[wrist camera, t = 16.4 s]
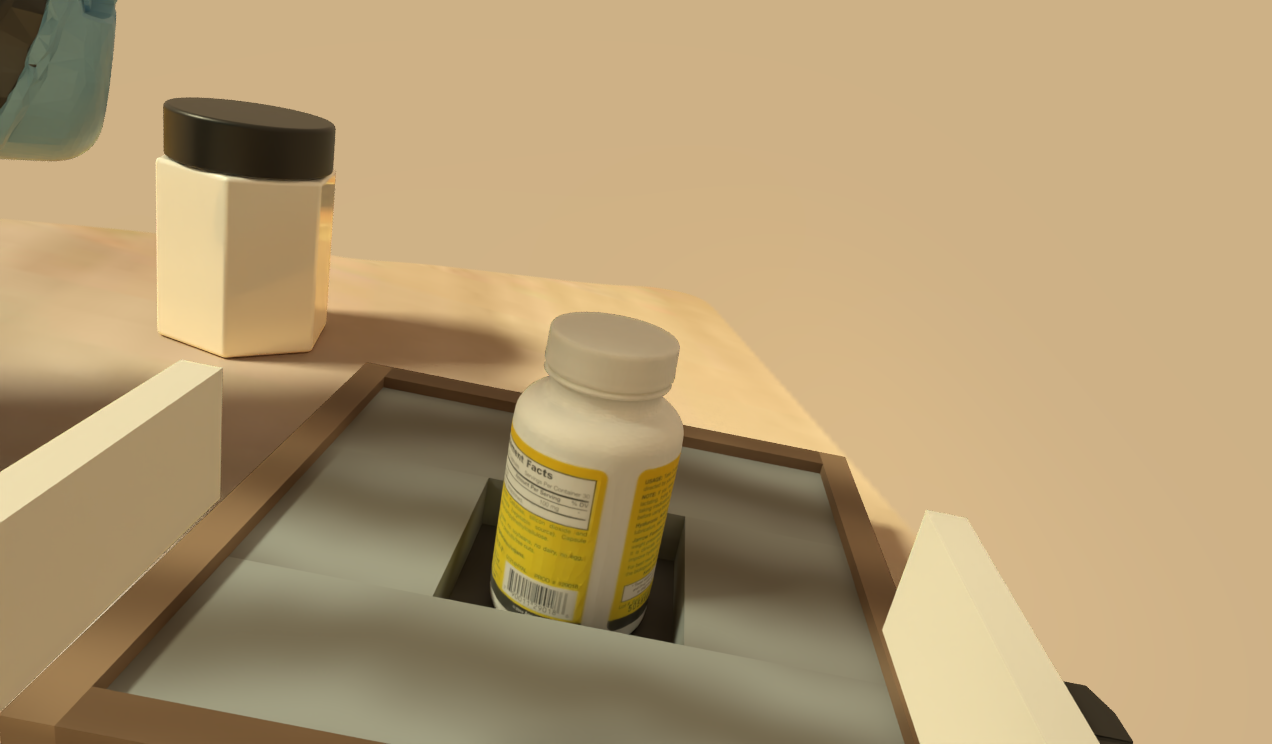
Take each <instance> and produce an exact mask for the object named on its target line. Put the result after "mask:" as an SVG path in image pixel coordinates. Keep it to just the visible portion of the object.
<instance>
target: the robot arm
mask: <svg viewBox="0 0 1272 744" xmlns="http://www.w3.org/2000/svg"><path fill="white" fill-rule="evenodd" d="M116 2H117V0H0V159H11V160H33V161H34V160H35V161H63V160H69V159H72V158H75V157H78V156H80V155H82V154H83V153H85V152H86V151H87V150H89V149H90V148H91V147H92V146H93V145H94V143H95V142H96V140H97V139H98V137H99V135H100V133H101V130H102V127H103V122H104V117H105V112H106V106H107V100H108V93H109V86H110V77H111V69H112V60H113V51H114V39H115V26H116V11H115V4H116ZM222 384H223V368H221V367H216V366H211V365H206V364H201V363H196V362H191V361H187V360H182V359H181V360H179V361H178V362H176V363H175V364H173V365H171V366H170V367H168V368H167V369H165V370H163V371H162V372H160V373H158V374H157V375H155V376H154V377H152V378H150V379H149V380H147V381H146V382H144V383H142V384H141V385H139V386H138V387H136V388H134V389H133V390H131V391H130V392H128V393H126V394H125V395H123V396H122V397H120V398H118V399H117V400H115V401H113V402H112V403H110V404H109V405H107V406H105V407H104V408H102V409H101V410H99V411H97V412H96V413H94V414H93V415H91V416H89V417H88V418H86V419H85V420H83V421H81V422H80V423H78V424H76V425H75V426H73V427H72V428H70V429H68V430H67V431H65V432H64V433H62V434H60V435H59V436H57V437H56V438H54V439H52V440H51V441H49V442H48V443H46V444H44V445H43V446H41V447H39V448H38V449H36V450H35V451H33V452H31V453H30V454H28V455H27V456H25V457H23V458H22V459H20V460H19V461H17V462H15V463H14V464H12V465H11V466H9V467H7V468H6V469H4V470H3V471H1V472H0V712H1V711H2V710H3V709H4V708H5V707H6V706H7V705H8V704H9V703H10V702H11V701H12V700H13V699H14V698H15V697H16V696H17V695H18V694H19V693H20V692H21V691H22V690H23V689H24V688H25V687H26V686H27V685H28V684H29V683H30V682H32V681H33V680H34V679H35V678H36V677H37V676H38V675H39V674H40V673H41V672H42V671H43V670H44V669H45V668H46V667H47V666H48V665H49V664H50V663H51V662H52V661H53V660H54V659H55V658H56V657H57V656H58V655H59V654H60V653H61V652H62V651H63V650H64V649H66V648H67V647H68V646H69V645H70V644H71V643H72V642H73V641H74V640H75V639H76V638H77V637H78V636H79V635H80V634H81V633H82V632H83V631H84V630H85V629H86V628H87V627H88V626H89V625H90V624H91V623H92V622H93V621H94V620H95V619H96V618H97V617H98V616H99V615H101V614H102V613H103V612H104V611H105V610H106V609H107V608H108V607H109V606H110V605H111V604H112V603H113V602H114V601H115V600H116V599H117V598H118V597H119V596H120V595H121V594H122V593H123V592H124V591H125V590H126V589H127V588H128V587H129V586H130V585H131V584H132V583H133V582H135V581H136V580H137V579H138V578H139V577H140V576H141V575H142V574H143V573H144V572H145V571H146V570H147V569H148V568H149V567H150V566H151V565H152V564H153V563H154V562H155V561H156V560H157V559H158V558H159V557H160V556H161V555H162V554H163V553H164V552H165V551H166V550H167V549H169V548H170V547H171V546H172V545H173V544H174V543H175V542H176V541H177V540H178V539H179V538H180V537H181V536H182V535H183V534H184V533H185V532H186V531H187V530H188V529H189V528H190V527H191V526H192V525H193V524H194V523H195V522H196V521H197V520H198V519H199V518H200V517H201V516H202V515H204V514H205V513H206V512H207V511H208V510H209V509H210V508H211V507H212V506H213V505H214V504H215V503H216V502H217V501H218V500H219V499H220V485H221V435H222ZM882 631H883V634H884V637H885V640H886V643H887V646H888V649H889V652H890V655H891V658H892V661H893V664H894V667H895V670H896V673H897V676H898V679H899V682H900V685H901V688H902V691H903V694H904V697H905V700H906V703H907V707H908V710H909V713H910V716H911V719H912V722H913V725H914V728H915V731H916V734H917V737H918V740H919V743H920V744H1133V741H1132V739H1131V738H1130V736H1129V735H1128V733H1127V731H1126V730H1125V728H1124V727H1123V725H1122V724H1121V722H1120V720H1119V719H1118V717H1117V716H1116V714H1115V713H1114V712H1113V711H1112V710H1111V709H1110V708H1109V707H1107V705H1106V704H1104V702H1102V701H1101V700H1100V699H1099V698H1098V697H1097V696H1096V695H1095V694H1094V693H1093V692H1092V691H1091V690H1090V689H1089V688H1088V687H1087V686H1084V685H1079V684H1074V683H1069V682H1064V681H1063V680H1062V679H1061V677H1060V675H1059V674H1058V672H1057V670H1056V669H1055V667H1054V666H1053V663H1052V662H1051V660H1050V658H1049V657H1048V655H1047V653H1046V652H1045V650H1044V648H1043V646H1042V645H1041V643H1040V641H1039V640H1038V638H1037V636H1036V635H1035V633H1034V631H1033V630H1032V628H1031V626H1030V624H1029V623H1028V621H1027V619H1026V618H1025V616H1024V614H1023V613H1022V611H1021V609H1020V608H1019V606H1018V604H1017V602H1016V601H1015V599H1014V597H1013V596H1012V594H1011V592H1010V590H1009V589H1008V587H1007V585H1006V584H1005V582H1004V580H1003V579H1002V577H1001V575H1000V573H999V572H998V570H997V568H996V567H995V565H994V563H993V562H992V561H991V558H990V557H989V555H988V553H987V552H986V550H985V548H984V547H983V545H982V543H981V541H980V540H979V538H978V536H977V534H976V533H975V531H974V529H973V528H972V526H971V524H970V523H969V521H968V519H967V518H964V517H959V516H955V515H949V514H944V513H940V512H935V511H930V510H926V512H925V515H924V518H923V520H922V523H921V526H920V528H919V531H918V534H917V537H916V539H915V542H914V545H913V547H912V550H911V553H910V556H909V558H908V561H907V564H906V566H905V569H904V572H903V575H902V577H901V580H900V583H899V586H898V588H897V591H896V594H895V596H894V599H893V602H892V605H891V607H890V610H889V613H888V615H887V618H886V621H885V624H884V626H883V629H882Z"/></svg>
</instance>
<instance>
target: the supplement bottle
mask: <svg viewBox="0 0 1272 744" xmlns="http://www.w3.org/2000/svg"><path fill="white" fill-rule="evenodd" d="M679 349H680V346H679V343H678V341H677V339H676V338H675V337H674V336H673V335H671V334H670V333H669V332H667V331H665V330H664V329H662V328H660V327H657V326H655V325H653V324H650V323H647V322H644V321H641V320H638V319H634V318H630V317H625V316H621V315H615V314H608V313H600V312H574V313H568V314H563V315H560V316H558V317H556V318H555V319H554V320H553V321H552V323H551V326H550V331H549V336H548V342H547V347H546V351H545V363H544V368H545V370H546V372H547V373H548V374H549V375H550V376H547V377H544V378H542V379H539V380H538V381H536V382H534V383H532V384H531V385H530V386H528V387H527V388H526V389H525V390H524V391H523V393H522V394H521V395H520V397H519V399H518V401H517V403H516V406H515V411H514V416H513V420H512V426H511V433H510V441H509V448H508V455H507V462H506V469H505V476H504V483H503V490H502V497H501V504H500V511H499V518H498V525H497V532H496V539H495V546H494V553H493V561H492V569H491V576H490V594H491V599H492V602H493V604H494V607H495V608H496V609H500V610H505V611H510V612H515V613H520V614H525V615H531V616H536V617H541V618H546V619H551V620H556V621H561V622H566V623H572V624H577V625H582V626H587V627H592V628H597V629H602V630H607V631H612V632H618V633H623V634H628V635H629V634H630V633H631V632H633V631H634V630H635V629H636V628H637V626H638V625H639V624H640V622H641V620H642V618H643V616H644V614H645V610H646V607H647V603H648V599H649V595H650V590H651V586H652V582H653V578H654V572H655V567H656V562H657V557H658V553H659V548H660V544H661V539H662V535H663V530H664V525H665V521H666V517H667V512H668V508H669V503H670V499H671V494H672V490H673V485H674V481H675V476H676V472H677V468H678V463H679V459H680V454H681V450H682V443H683V436H684V430H683V424H682V421H681V418H680V416H679V414H678V413H677V411H676V410H675V408H674V407H673V406H672V405H671V404H670V403H669V402H668V401H667V400H666V399H665V398H663V397H662V396H664V395H665V394H667V393H668V392H669V391H670V389H671V386H672V383H673V382H674V379H675V372H676V366H677V361H678V356H679Z"/></svg>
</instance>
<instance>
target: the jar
mask: <svg viewBox="0 0 1272 744" xmlns="http://www.w3.org/2000/svg"><path fill="white" fill-rule="evenodd" d="M163 113H164V115H163V118H164V119H163V120H164V154H165V155H163V156H161V157H158V158H157V159H156V244H157V330H158V332H159V334H161V335H163V336H166V337H169V338H172V339H174V340H177V341H180V342H183V343H185V344H188V345H191V346H194V347H196V348H199V349H202V350H205V351H207V352H210V353H213V354H215V355H218V356H221V357H224V358H229V357H244V356H257V355H271V354H285V353H299V352H308V351H311V350H312V348H313V346H314V345H315V343H316V341H317V339H318V337H319V335H320V334H321V332H322V330H323V328H324V326H325V324H326V319H327V303H328V287H329V272H330V256H331V239H332V225H333V209H334V193H335V192H334V191H335V178H336V171H335V170H334V169H333V161H334V144H335V130H336V129H335V126H334V124H332V123H331V122H329V121H328V120H326V119H323V118H320V117H318V116H314V115H311V114H308V113H304V112H299V111H295V110H291V109H286V108H281V107H275V106H270V105H264V104H258V103H250V102H242V101H235V100H225V99H213V98H174V99H170V100H167V101H166V102H165V103H164V106H163Z"/></svg>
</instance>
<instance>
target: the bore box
mask: <svg viewBox="0 0 1272 744" xmlns="http://www.w3.org/2000/svg"><path fill="white" fill-rule="evenodd" d="M521 394H522V393H519V392H514V391H509V390H504V389H499V388H494V387H489V386H484V385H479V384H474V383H469V382H464V381H459V380H454V379H449V378H444V377H439V376H434V375H429V374H424V373H419V372H414V371H408V370H403V369H398V368H393V367H388V366H383V365H378V364H373V363H368V362H367V363H366V364H365V365H364V366H363V367H361V368H360V369H359V370H358V371H357V372H356V373H355V374H354V375H353V376H352V377H351V378H350V379H349V380H348V381H347V382H346V383H345V384H344V385H343V386H342V387H341V388H339V389H338V390H337V391H336V392H335V393H334V394H333V395H332V396H331V397H330V398H329V399H328V400H327V401H326V402H325V403H324V404H323V405H322V406H321V407H320V408H319V409H318V410H316V411H315V412H314V413H313V414H312V415H311V416H310V417H309V418H308V419H307V420H306V421H305V422H304V423H303V424H302V425H301V426H300V427H299V428H298V429H297V430H296V431H294V432H293V433H292V434H291V435H290V436H289V437H288V438H287V439H286V440H285V441H284V442H283V443H282V444H281V445H280V446H279V447H278V448H277V449H276V450H275V451H274V452H273V453H271V454H270V455H269V456H268V457H267V458H266V459H265V460H264V461H263V462H262V463H261V464H260V465H259V466H258V467H257V468H256V469H255V470H254V471H253V472H252V473H251V474H249V475H248V476H247V477H246V478H245V479H244V480H243V481H242V482H241V483H240V484H239V485H238V486H237V487H236V488H235V489H234V490H233V491H232V492H231V493H230V494H229V495H227V496H226V497H225V498H224V499H223V500H222V501H221V502H220V503H219V504H218V505H217V506H216V507H215V508H214V509H213V510H212V511H211V512H210V513H209V514H208V515H207V516H206V517H204V518H203V519H202V520H201V521H200V522H199V523H198V524H197V525H196V526H195V527H194V528H193V529H192V530H191V531H190V532H189V533H188V534H187V535H186V536H185V537H184V538H182V539H181V540H180V541H179V542H178V543H177V544H176V545H175V546H174V547H173V548H172V549H171V550H170V551H169V552H168V553H167V554H166V555H165V556H164V557H163V558H162V559H161V560H159V561H158V562H157V563H156V564H155V565H154V566H153V567H152V568H151V569H150V570H149V571H148V572H147V573H146V574H145V575H144V576H143V577H142V578H141V579H140V580H139V581H137V582H136V583H135V584H134V585H133V586H132V587H131V588H130V589H129V590H128V591H127V592H126V593H125V594H124V595H123V596H122V597H121V598H120V599H119V600H118V601H117V602H115V603H114V604H113V605H112V606H111V607H110V608H109V609H108V610H107V611H106V612H105V613H104V614H103V615H102V616H101V617H100V618H99V619H98V620H97V621H96V622H95V623H94V624H92V625H91V626H90V627H89V628H88V629H87V630H86V631H85V632H84V633H83V634H82V635H81V636H80V637H79V638H78V639H77V640H76V641H75V642H74V643H73V644H72V645H70V646H69V647H68V648H67V649H66V650H65V651H64V652H63V653H62V654H61V655H60V656H59V657H58V658H57V659H56V660H55V661H54V662H53V663H52V664H51V665H50V666H48V667H47V668H46V669H45V670H44V671H43V672H42V673H41V674H40V675H39V676H38V677H37V678H36V679H35V680H34V681H33V682H32V683H31V684H30V685H29V686H28V687H27V688H25V689H24V690H23V691H22V692H21V693H20V694H19V695H18V696H17V697H16V698H15V699H14V700H13V701H12V702H11V703H10V704H9V705H8V706H7V707H6V708H5V709H3V710H2V711H1V712H0V743H1V744H920V743H919V740H918V737H917V734H916V731H915V728H914V725H913V722H912V719H911V716H910V713H909V710H908V707H907V703H906V700H905V697H904V694H903V691H902V688H901V685H900V682H899V679H898V676H897V673H896V670H895V667H894V664H893V661H892V658H891V655H890V652H889V649H888V646H887V643H886V640H885V637H884V634H883V631H882V629H883V626H884V624H885V621H886V618H887V615H888V613H889V610H890V607H891V605H892V602H893V599H894V596H895V594H896V591H897V590H896V587H895V585H894V582H893V579H892V577H891V574H890V572H889V569H888V567H887V564H886V561H885V559H884V556H883V554H882V551H881V549H880V546H879V543H878V541H877V538H876V536H875V533H874V531H873V528H872V525H871V523H870V520H869V518H868V515H867V512H866V510H865V507H864V505H863V502H862V500H861V497H860V494H859V492H858V489H857V487H856V484H855V482H854V479H853V476H852V474H851V471H850V469H849V466H848V464H847V461H846V458H845V457H842V456H837V455H832V454H827V453H822V452H817V451H812V450H807V449H802V448H797V447H792V446H787V445H782V444H776V443H771V442H766V441H761V440H756V439H751V438H746V437H741V436H736V435H731V434H726V433H721V432H716V431H711V430H706V429H701V428H696V427H691V426H686V425H683V430H684V436H683V443H682V450H681V454H680V459H679V463H678V468H677V472H676V476H675V481H674V485H673V490H672V494H671V499H670V503H669V508H668V512H667V517H666V521H665V525H664V530H663V535H662V539H661V544H660V548H659V553H658V557H657V562H656V567H655V572H654V578H653V582H652V586H651V590H650V595H649V599H648V603H647V607H646V610H645V614H644V616H643V618H642V620H641V622H640V624H639V625H638V626H637V628H636V629H635V630H634V631H633V632H631V633H630V634H629V635H628V634H623V633H618V632H612V631H607V630H602V629H597V628H592V627H587V626H582V625H577V624H572V623H566V622H561V621H556V620H551V619H546V618H541V617H536V616H531V615H525V614H520V613H515V612H510V611H505V610H500V609H496V608H495V607H494V604H493V602H492V599H491V594H490V576H491V569H492V561H493V553H494V546H495V539H496V532H497V525H498V518H499V511H500V504H501V497H502V490H503V483H504V476H505V469H506V462H507V455H508V448H509V441H510V433H511V426H512V420H513V416H514V411H515V406H516V403H517V401H518V399H519V397H520V395H521Z"/></svg>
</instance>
